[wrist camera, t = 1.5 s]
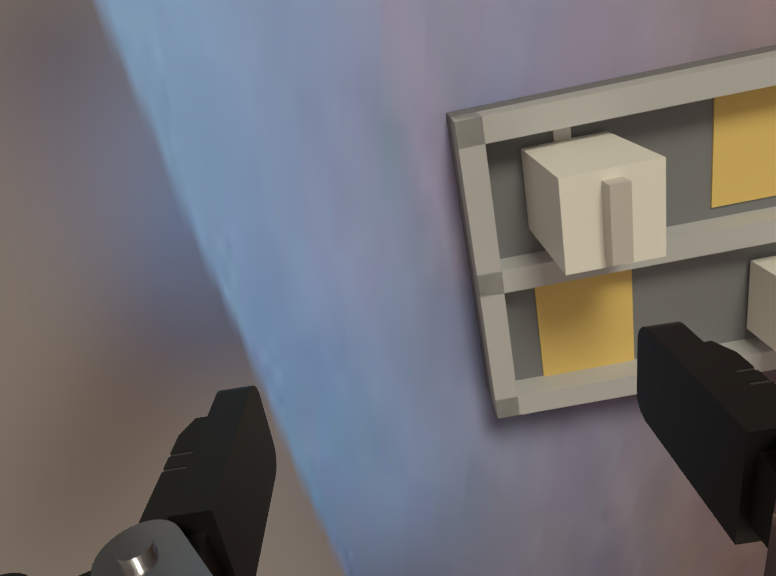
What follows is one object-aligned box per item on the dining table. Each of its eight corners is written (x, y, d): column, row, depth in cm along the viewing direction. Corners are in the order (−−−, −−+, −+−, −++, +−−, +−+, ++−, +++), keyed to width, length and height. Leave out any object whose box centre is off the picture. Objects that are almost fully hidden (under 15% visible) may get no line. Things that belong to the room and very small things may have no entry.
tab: (606, 130, 27) (676, 161, 21) (610, 212, 29) (675, 263, 23) (520, 148, 28) (564, 183, 21) (528, 228, 29) (572, 283, 23)
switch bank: (871, 25, 27) (927, 25, 25) (833, 325, 34) (874, 351, 31) (446, 112, 29) (454, 122, 26) (487, 388, 35) (498, 418, 32)
